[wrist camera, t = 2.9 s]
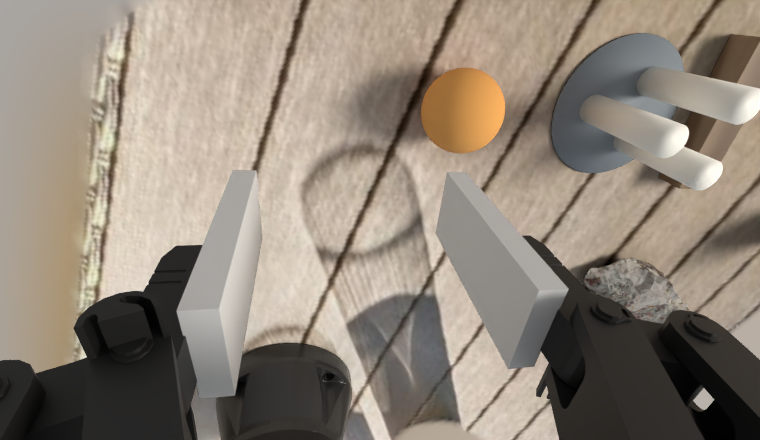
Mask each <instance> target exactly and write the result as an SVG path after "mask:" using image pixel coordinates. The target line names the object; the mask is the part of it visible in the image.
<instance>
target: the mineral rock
mask: <svg viewBox="0 0 760 440" xmlns="http://www.w3.org/2000/svg"><path fill="white" fill-rule="evenodd" d="M583 281H584V283H585V285H586V287H587V288H588V289H589V291H590V293H591V295H599V296H603V297H606V298H610V299H612V300H614V301H616V302H618V303H620V304H621V305H623V306H624V307H625V308H627V309H628V310H629V311H630V312H631V313H632V314H633V315H634V317H635V318H636V319H640V320H645V321H651V322H656V323H662V324H663V323H664V321H665V320H666V318H667V317H668V315H669V314H670V313H671V312H672V311H676V310H685V311H689V309H688V305H687V304H685V303H683V302H682V300H681V297H680V295H679V294H677V293H676V292H675V287H674V285H673V284H672V283H671V282H670V281H668V279H667V278H666V277H664V274H663V273H662V272H660V271H659V270H657V269H656V268H655V267H654V266H653V265H651V264H649V263H647V262H644V261H641V260H636V259H635V258H633V257H631V258H628V259H621V260H619V261H617V262H615V263H613V264H611V265H608V266H603V267H602V266H601V267H600V268H591V269H590V270H589V271H588V272H587V274H586V275H585V278H584V280H583Z"/></svg>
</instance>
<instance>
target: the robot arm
mask: <svg viewBox="0 0 760 440" xmlns="http://www.w3.org/2000/svg"><path fill="white" fill-rule="evenodd" d="M436 235H437V237H438V239H439V241H440V243H441V244H442V246H443V248H444V250H445V252H446V254H447V256H448V257H449V259H450V261H451V263H452V265H453V267H454V269H455V271H456V272H457V274H458V276H459V278H460V280H461V282H462V284H463V286H464V287H465V289H466V291H467V293H468V295H469V297H470V299H471V300H472V302H473V304H474V306H475V308H476V310H477V312H478V314H479V315H480V317H481V319H482V321H483V323H484V325H485V327H486V328H487V330H488V332H489V334H490V336H491V338H492V340H493V342H494V343H495V345H496V347H497V349H498V351H499V353H500V355H501V357H502V358H503V360H504V362H505V364H506V366H507V368H508V369H513V368H523V367H533V366H534V365H535V363H536V361H537V359H538V356H539V354H540V352H541V351H542V353H543V354H544V356H545V358H546V359H547V361H548V362H549V364H548V366H547V368H546V370H545V372H544V374H543V376H542V379H541V381H540V383H539V385H538V387H537V390H536V396H537V397H541V395H542V393H543V391H544V389H545V387H546V386H547V388H548V395H547V399H550V401H551V406H552V410H553V414H554V419H555V423H556V427H557V432H558V436H559V440H760V360H759V359H758V358H757V357H756V356H755V355H753V353H751V352H750V351H749V350H748V349H747V348H746V347H745V346H744V345H742V343H740V342H739V341H738V340H737V339H736V338H735V337H734V336H733V335H732V334H730V333H729V332H728V331H727V330H726V329H724V328H723V327H722V326H720V325H719V324H718V323H716V322H715V321H713V320H711V319H709V318H708V317H706V316H704V315H701V314H698V313H695V312H692V311H685V310H676V311H672V312H671V313H670V314H669V315H668V317H667V318H666V320H665V321H664V323H663V324H662V323H656V322H651V321H645V320H640V319H636V318H635V317H634V315H633V314H632V313H631V312H630V311H629V310H628V309H627V308H625V307H624V306H623V305H621V304H620V303H618V302H616V301H614V300H612V299H610V298H606V297H603V296H599V295H591V294H590V293H589V292H588V291H587V290H586V289H585V288H584V287H583V285H582V284H581V283H580V282H579V281H578V280H577V279H576V278H575V277H574V276H573V275H572V274H571V273H570V272H569V271H568V269H567V268H566V267H565V266H562V263H561V262H560V261H559V260H558V259H557V258H556V257H554V255H553V253H552V252H551V251H550V250H549V249H548V248H547V247H546V246H545V245H544V244H542V243H541V242H539V241H538V240H536V239H534V238H533V237H531V236H522V235H521V234H520V233H519V232H518V231H517V230H516V229H515V227H514V226H513V225H512V224H511V223H510V222H509V221H508V219H507V218H506V217H505V216H504V215H503V214H502V213H501V212H500V210H499V209H498V208H497V207H496V206H495V205H494V204H493V202H492V201H491V200H490V199H489V198H488V197H487V196H486V194H485V193H484V192H483V191H482V190H481V189H480V188H479V187H478V185H477V184H476V183H475V182H474V181H473V180H472V179H471V177H470V176H469V175H468V174H467V173H464V172H447V176H446V181H445V187H444V192H443V197H442V202H441V208H440V213H439V218H438V223H437V228H436ZM261 242H262V228H261V217H260V206H259V195H258V184H257V173H256V171H248V170H233V171H232V174H231V176H230V179H229V181H228V184H227V186H226V189H225V191H224V193H223V196H222V198H221V201H220V203H219V206H218V208H217V211H216V213H215V216H214V218H213V221H212V223H211V226H210V228H209V231H208V233H207V236H206V238H205V241H204V243H203V245H189V246H175V247H174V248H173V249H172V250H171V251H169V252H168V253H167V254H166V255H164V256H163V257H162V258H161V260H160V262H159V264H158V266H157V267H156V269H155V274H153V275H152V277H151V279H150V281H149V285H147V286H146V288H145V290H144V292H141V291H131V292H124V293H119V294H116V295H113V296H110V297H107V298H104V299H102V300H101V301H99V302H97V303H95V304H94V305H92V306H90V307H89V308H88V309H87V310H86V311H85V312H84V313H83V314H82V315H81V316H79V318H78V320H77V322H76V324H75V326H74V330H75V332H76V334H77V336H78V339H79V341H80V343H81V345H82V347H83V349H84V351H85V353H86V356H87V358H84V359H81V360H79V361H76V362H73V363H69V364H66V365H63V366H59V367H56V368H53V369H49V370H46V371H43V372H39V373H36V374H35V372H34V370H33V369H32V367H31V365H30V364H28V363H25V362H23V361H20V360H2V361H0V440H198V439H197V433H196V426H195V420H194V414H193V411H192V407H191V401H192V398H193V394H194V390H195V387H197V391H198V394H199V398H200V399H205V398H215V397H217V399H216V411H217V418H218V425H219V431H220V438H221V440H343V436H344V431H345V427H346V422H347V418H348V413H349V409H350V404H351V400H352V388H351V379H350V373H349V370H348V368H347V366H346V365H345V363H344V362H343V361H342V360H341V359H340V358H339V357H338V356H336V355H335V354H333V353H331V352H329V351H327V350H325V349H322V348H320V347H316V346H312V345H306V344H278V345H272V346H267V347H263V348H260V349H257V350H254V351H252V352H250V353H248V354H246V355H244V356H242V352H243V346H244V341H245V335H246V329H247V323H248V317H249V312H250V306H251V300H252V294H253V289H254V283H255V277H256V271H257V265H258V260H259V254H260V248H261ZM703 388H705V389H706V390H707V392H708V393H709V394H710V395H711V396H712V397H713V398H714V401H713V402H712V404H711V405H710V406H709V407H708V408H707V409H706V410H702V409H700V408H699V407H698V406H697V405H696V404H695V403H694V401H693V400H694V399H695V398H696V396H697V395H698V394H699V392H701V390H702V389H703Z"/></svg>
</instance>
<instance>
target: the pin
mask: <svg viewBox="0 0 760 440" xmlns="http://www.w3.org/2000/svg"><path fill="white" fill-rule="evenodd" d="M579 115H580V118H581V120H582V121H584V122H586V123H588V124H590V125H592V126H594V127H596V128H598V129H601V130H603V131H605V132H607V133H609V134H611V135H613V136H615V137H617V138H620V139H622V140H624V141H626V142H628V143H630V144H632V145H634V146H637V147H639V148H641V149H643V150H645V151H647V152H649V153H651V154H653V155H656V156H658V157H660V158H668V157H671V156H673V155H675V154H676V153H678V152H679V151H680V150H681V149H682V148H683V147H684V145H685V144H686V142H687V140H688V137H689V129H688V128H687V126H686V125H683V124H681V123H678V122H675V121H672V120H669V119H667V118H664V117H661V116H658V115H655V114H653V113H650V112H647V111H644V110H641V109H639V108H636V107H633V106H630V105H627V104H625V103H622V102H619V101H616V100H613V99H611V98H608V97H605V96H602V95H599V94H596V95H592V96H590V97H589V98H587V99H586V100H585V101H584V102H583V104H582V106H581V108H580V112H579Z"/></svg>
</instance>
